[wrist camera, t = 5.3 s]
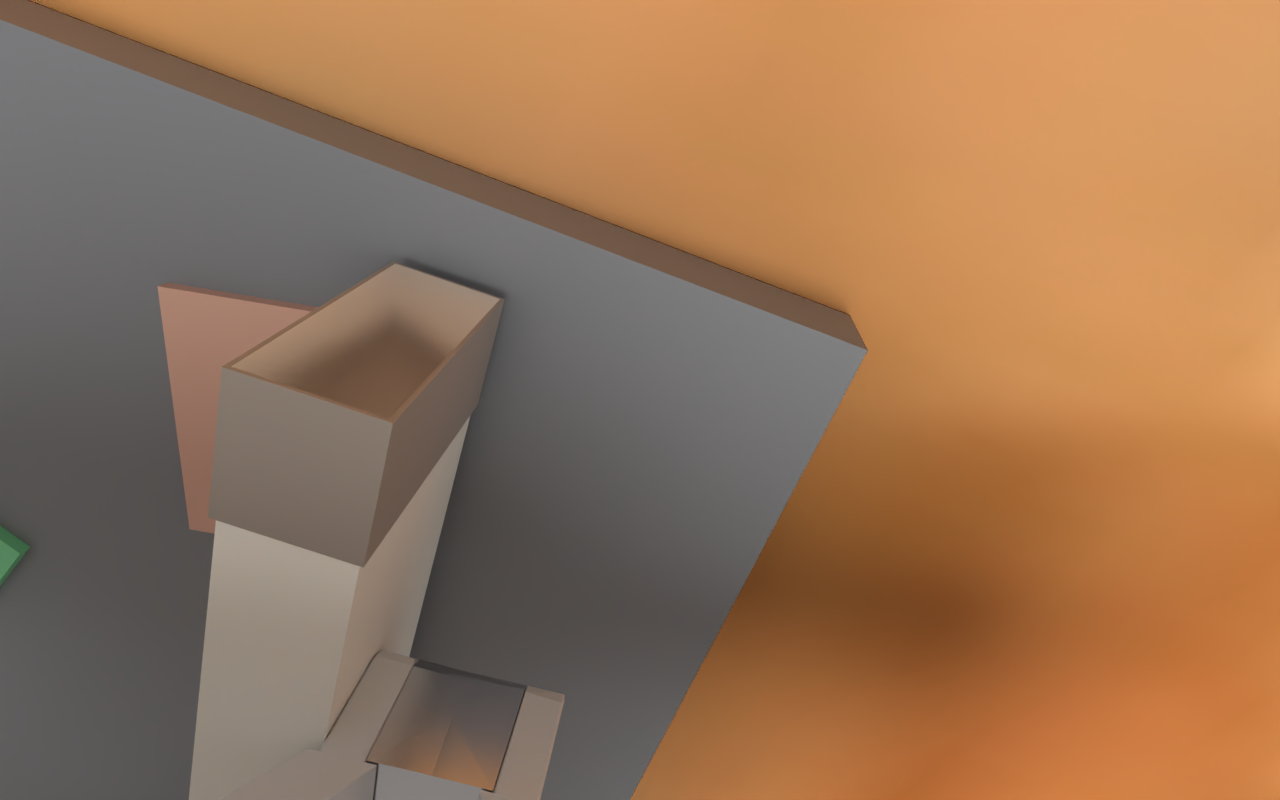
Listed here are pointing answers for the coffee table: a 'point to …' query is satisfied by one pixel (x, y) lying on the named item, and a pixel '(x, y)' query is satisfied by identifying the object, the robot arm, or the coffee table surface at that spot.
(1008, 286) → the coffee table surface
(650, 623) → the dial board
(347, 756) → the robot arm
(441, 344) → the control lever
